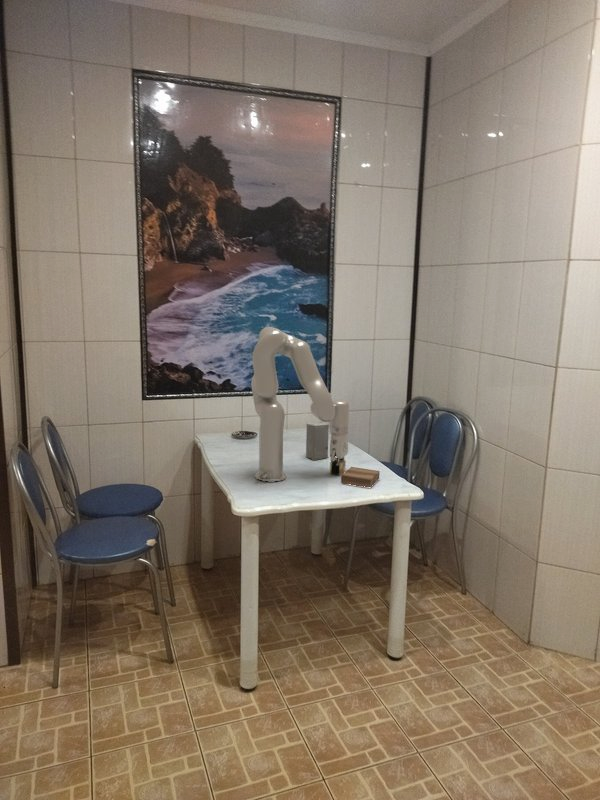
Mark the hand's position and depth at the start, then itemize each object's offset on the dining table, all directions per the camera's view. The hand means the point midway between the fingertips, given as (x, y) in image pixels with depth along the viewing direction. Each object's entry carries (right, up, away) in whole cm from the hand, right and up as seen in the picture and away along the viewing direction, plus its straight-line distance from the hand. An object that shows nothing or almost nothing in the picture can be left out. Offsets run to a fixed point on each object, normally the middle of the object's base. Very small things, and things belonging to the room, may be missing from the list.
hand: (337, 471), depth 246 cm
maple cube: (0, 0, 0) cm, 1 cm away
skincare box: (-8, +4, +21) cm, 23 cm away
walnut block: (+8, -3, -10) cm, 13 cm away
